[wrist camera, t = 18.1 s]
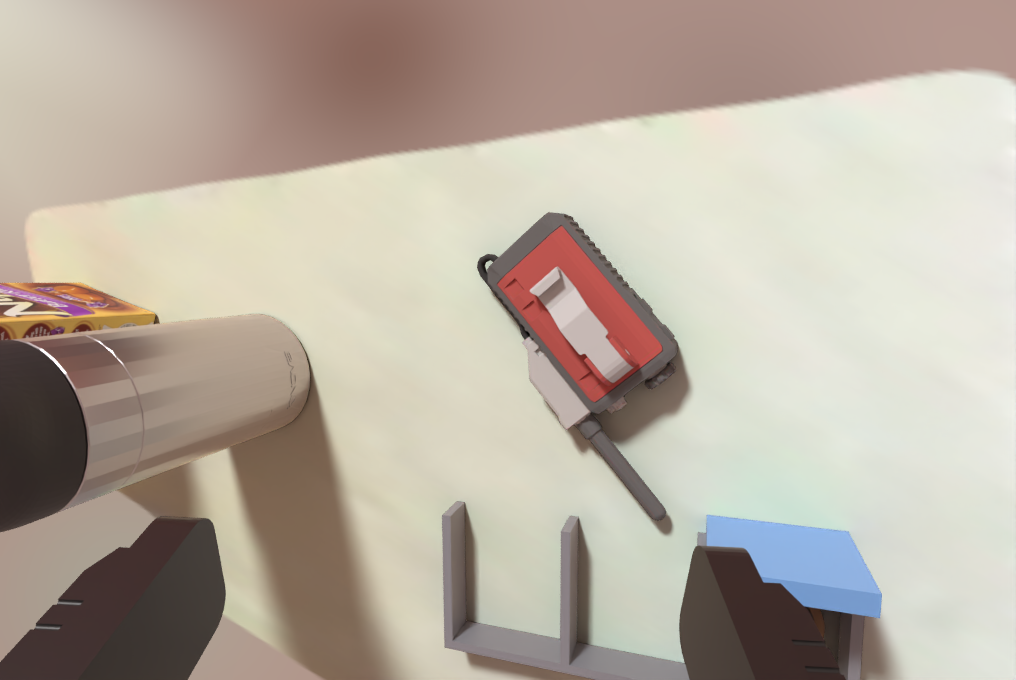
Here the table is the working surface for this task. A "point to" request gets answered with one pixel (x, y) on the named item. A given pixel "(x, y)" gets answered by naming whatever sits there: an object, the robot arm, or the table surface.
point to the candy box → (62, 310)
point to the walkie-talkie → (581, 332)
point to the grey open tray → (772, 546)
